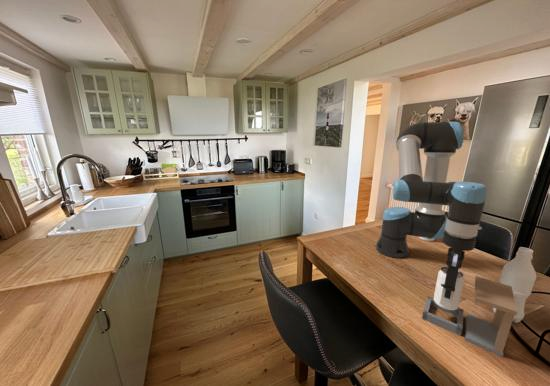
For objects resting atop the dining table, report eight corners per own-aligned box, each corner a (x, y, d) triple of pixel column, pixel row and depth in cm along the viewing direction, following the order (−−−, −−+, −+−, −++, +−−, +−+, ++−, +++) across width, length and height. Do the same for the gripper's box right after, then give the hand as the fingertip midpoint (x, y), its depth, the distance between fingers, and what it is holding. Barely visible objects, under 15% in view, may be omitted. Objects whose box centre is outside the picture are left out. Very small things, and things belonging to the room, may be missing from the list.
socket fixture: (421, 321, 73) (428, 281, 69) (427, 299, 82) (434, 263, 78) (502, 358, 60) (517, 311, 57) (499, 327, 70) (511, 286, 66)
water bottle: (485, 309, 77) (502, 244, 71) (503, 307, 78) (523, 243, 71) (507, 326, 70) (529, 256, 64) (528, 324, 71) (551, 254, 65)
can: (462, 312, 69) (470, 279, 66) (439, 309, 70) (445, 276, 67) (450, 298, 75) (457, 267, 72) (429, 295, 76) (435, 265, 73)
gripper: (476, 249, 57) (459, 323, 63) (476, 227, 71) (462, 289, 77) (441, 241, 62) (428, 310, 67) (447, 221, 76) (436, 280, 81)
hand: (446, 298), depth 72 cm, fingers closed on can, 6 cm apart
